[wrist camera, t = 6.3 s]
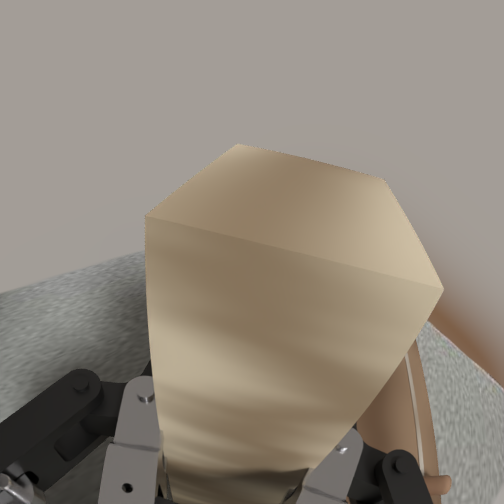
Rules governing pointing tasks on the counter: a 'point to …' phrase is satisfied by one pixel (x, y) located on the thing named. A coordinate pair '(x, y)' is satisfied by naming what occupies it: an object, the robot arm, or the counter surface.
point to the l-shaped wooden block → (275, 318)
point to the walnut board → (403, 417)
